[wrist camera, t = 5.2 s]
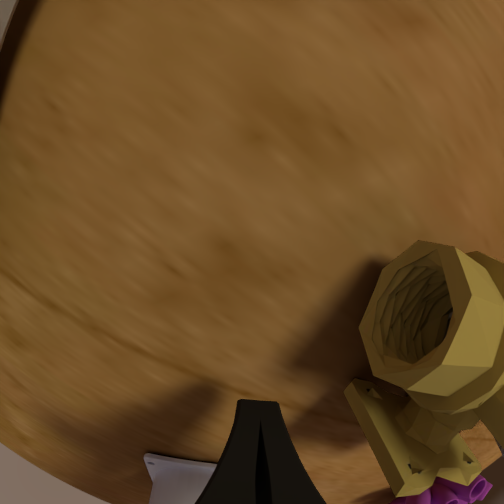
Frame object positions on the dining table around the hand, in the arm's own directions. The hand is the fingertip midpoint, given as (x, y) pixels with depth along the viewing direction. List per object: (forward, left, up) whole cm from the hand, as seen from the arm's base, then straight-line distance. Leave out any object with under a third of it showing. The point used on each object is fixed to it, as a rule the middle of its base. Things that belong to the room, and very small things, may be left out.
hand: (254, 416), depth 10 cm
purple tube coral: (-20, -21, -4) cm, 29 cm away
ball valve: (+1, -9, -4) cm, 10 cm away
